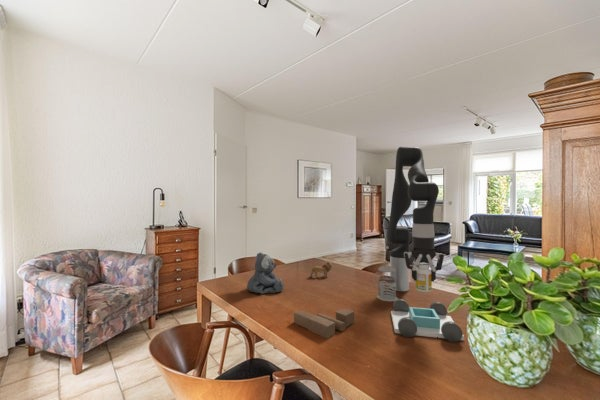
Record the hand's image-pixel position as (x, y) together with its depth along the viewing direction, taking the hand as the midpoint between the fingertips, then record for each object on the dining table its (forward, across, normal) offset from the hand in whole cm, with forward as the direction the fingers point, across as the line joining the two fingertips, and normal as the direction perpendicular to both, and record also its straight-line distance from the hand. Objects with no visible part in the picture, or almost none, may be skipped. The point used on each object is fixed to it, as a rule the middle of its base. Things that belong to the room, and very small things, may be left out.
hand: (423, 280), depth 101 cm
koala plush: (+17, +74, -25) cm, 80 cm away
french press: (+17, +12, -27) cm, 34 cm away
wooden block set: (+18, +37, +6) cm, 41 cm away
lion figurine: (+17, +48, -55) cm, 75 cm away
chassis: (+17, 0, 0) cm, 17 cm away
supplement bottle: (+4, 0, 0) cm, 4 cm away
